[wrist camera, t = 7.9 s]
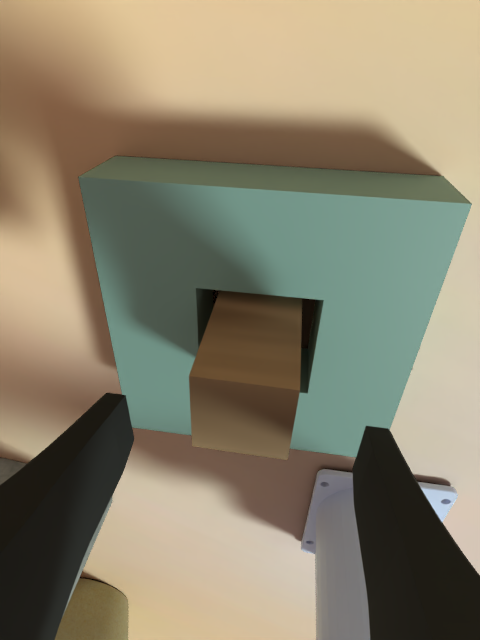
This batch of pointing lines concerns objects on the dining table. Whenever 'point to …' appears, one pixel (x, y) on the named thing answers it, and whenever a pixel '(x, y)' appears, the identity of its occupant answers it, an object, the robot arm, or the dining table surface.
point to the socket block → (271, 278)
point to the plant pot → (94, 613)
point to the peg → (247, 375)
